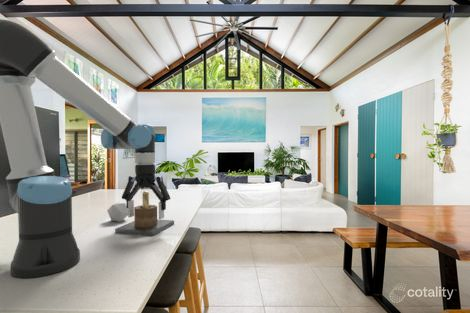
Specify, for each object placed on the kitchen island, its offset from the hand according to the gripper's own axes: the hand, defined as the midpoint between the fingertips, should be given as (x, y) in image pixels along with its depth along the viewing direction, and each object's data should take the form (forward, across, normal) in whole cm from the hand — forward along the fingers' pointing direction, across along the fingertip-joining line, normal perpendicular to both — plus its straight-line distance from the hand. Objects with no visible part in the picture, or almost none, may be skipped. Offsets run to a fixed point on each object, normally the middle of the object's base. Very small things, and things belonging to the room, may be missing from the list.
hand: (146, 217), depth 106 cm
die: (+4, +19, -8) cm, 21 cm away
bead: (+3, 0, 0) cm, 3 cm away
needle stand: (+4, 0, 0) cm, 4 cm away
